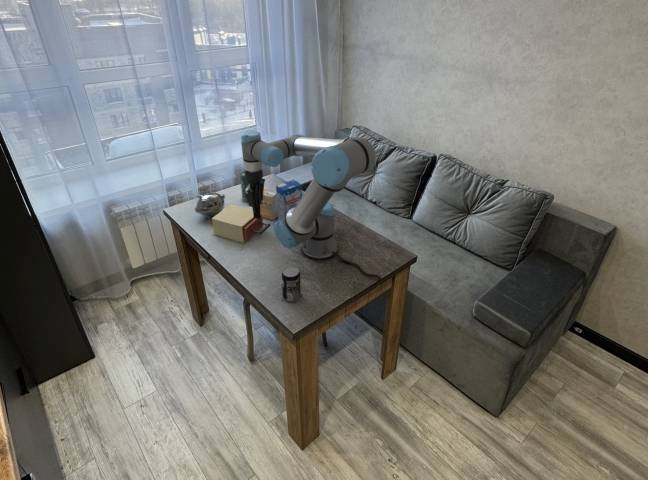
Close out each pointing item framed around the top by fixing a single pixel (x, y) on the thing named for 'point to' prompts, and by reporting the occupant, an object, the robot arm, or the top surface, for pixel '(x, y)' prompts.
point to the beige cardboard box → (232, 222)
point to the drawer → (254, 228)
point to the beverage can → (291, 283)
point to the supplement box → (269, 205)
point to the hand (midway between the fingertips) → (257, 217)
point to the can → (243, 186)
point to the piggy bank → (210, 204)
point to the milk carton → (287, 197)
